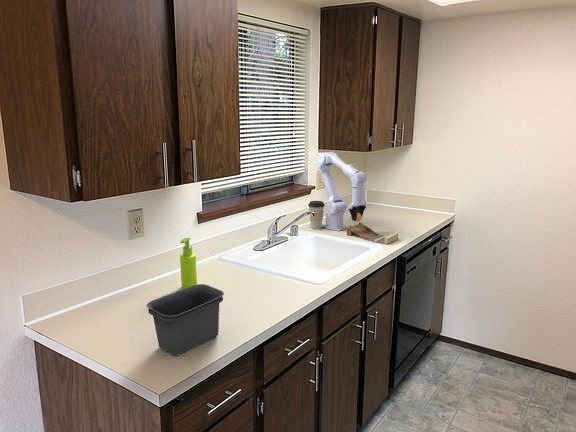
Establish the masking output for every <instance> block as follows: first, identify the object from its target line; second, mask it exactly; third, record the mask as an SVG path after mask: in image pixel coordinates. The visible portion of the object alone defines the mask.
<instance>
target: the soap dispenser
mask: <svg viewBox="0 0 576 432" xmlns="http://www.w3.org/2000/svg"><path fill="white" fill-rule="evenodd" d="M190 240H192V239H191V237H184V238H182V239H181V240H180V241H179V243H181V244H184V245H183V246H182V253H181V254H179V261H180V262H179V263H180V277H181V278H180V280H181V282H180V283H181V290H182V289H185V288H188V287H190V286H194V285H198V280H197V279H198V278H197V259H196V258H197V255H196V254H195V253H194V252H193V247H192V245H191V244H190Z"/></svg>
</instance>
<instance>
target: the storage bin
mask: <svg viewBox="0 0 576 432" xmlns="http://www.w3.org/2000/svg"><path fill="white" fill-rule="evenodd" d="M224 295H225V292H224V291H222V290H221V289H218V288H215V287H213V286H211V285H209V284H203V283H200V284H197V285H194V286H190V287H188V288H185V289H182V288H181V289H180V290H177V291H175V292H171V293H169V294H166V295H164V296H161V297H158V298H155V299H153V300H151V301H149V302H147V304H146V308H148V309H147V310H148V311H147V312H148V314H150V315H151V316H152V317H153V322H154V329H155V334H156V339H157V343H158V346H159V348H160V349H162V350H164V351H165V352H166V353H169V354H170V355H172V356H175V357H176V355H177V356H179V355H181V354H183V353H185V352H187V351H189V350H192V349H193V348H196V347H197V346H200V345H201V344H203V343H205V342H207V341H209V340H211V339H213V338H215V337H217V336H218V335H219V327H220V325H219V324H220V303H222V302H223V301H224ZM178 354H179V355H178Z"/></svg>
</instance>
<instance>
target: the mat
mask: <svg viewBox="0 0 576 432" xmlns="http://www.w3.org/2000/svg"><path fill="white" fill-rule="evenodd" d="M363 240H364V241H368V242H372V243H376V244H377V243H378V244H383V245H386V246H387V245H388V244H391V243H394V242H395V241H397V240H399V232H398V233H397V232H395V233H392V234H390V235H383V234H378V235H374V236H372V237H369V239H366V238H365V239H363Z"/></svg>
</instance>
